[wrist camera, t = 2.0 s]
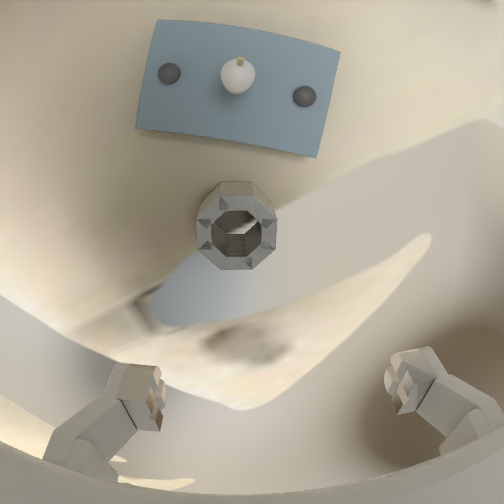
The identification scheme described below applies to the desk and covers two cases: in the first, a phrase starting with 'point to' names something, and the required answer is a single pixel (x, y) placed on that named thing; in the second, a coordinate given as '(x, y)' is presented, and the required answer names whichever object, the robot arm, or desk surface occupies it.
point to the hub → (236, 245)
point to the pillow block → (237, 85)
